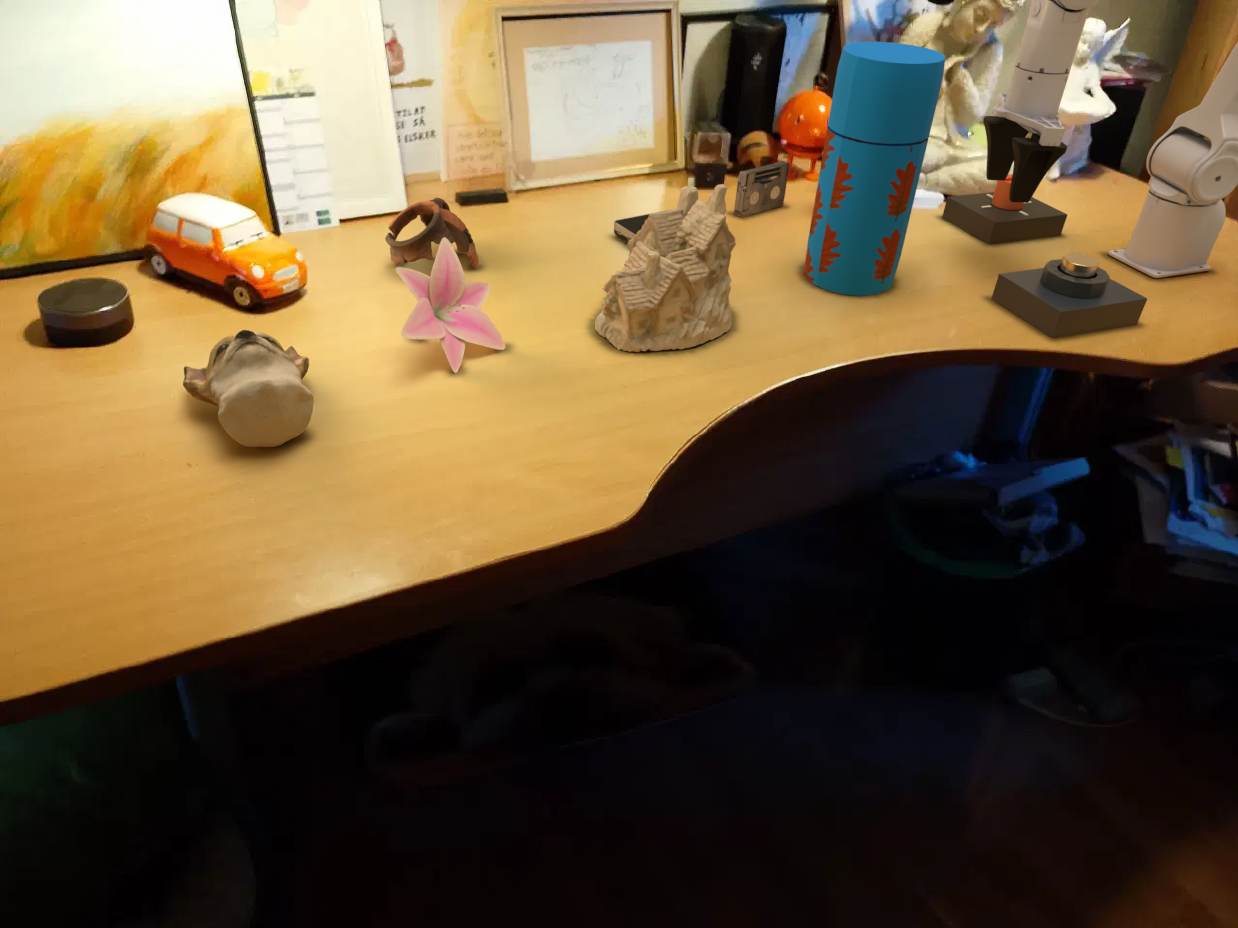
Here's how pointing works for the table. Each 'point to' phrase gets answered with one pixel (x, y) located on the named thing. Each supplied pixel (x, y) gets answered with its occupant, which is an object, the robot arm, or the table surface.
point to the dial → (1005, 195)
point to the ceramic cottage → (673, 279)
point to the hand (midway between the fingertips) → (1006, 190)
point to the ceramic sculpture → (254, 389)
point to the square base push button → (1067, 300)
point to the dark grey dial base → (1003, 219)
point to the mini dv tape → (761, 189)
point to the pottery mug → (429, 232)
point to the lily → (449, 307)
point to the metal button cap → (1079, 266)
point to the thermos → (871, 164)
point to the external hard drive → (630, 226)
